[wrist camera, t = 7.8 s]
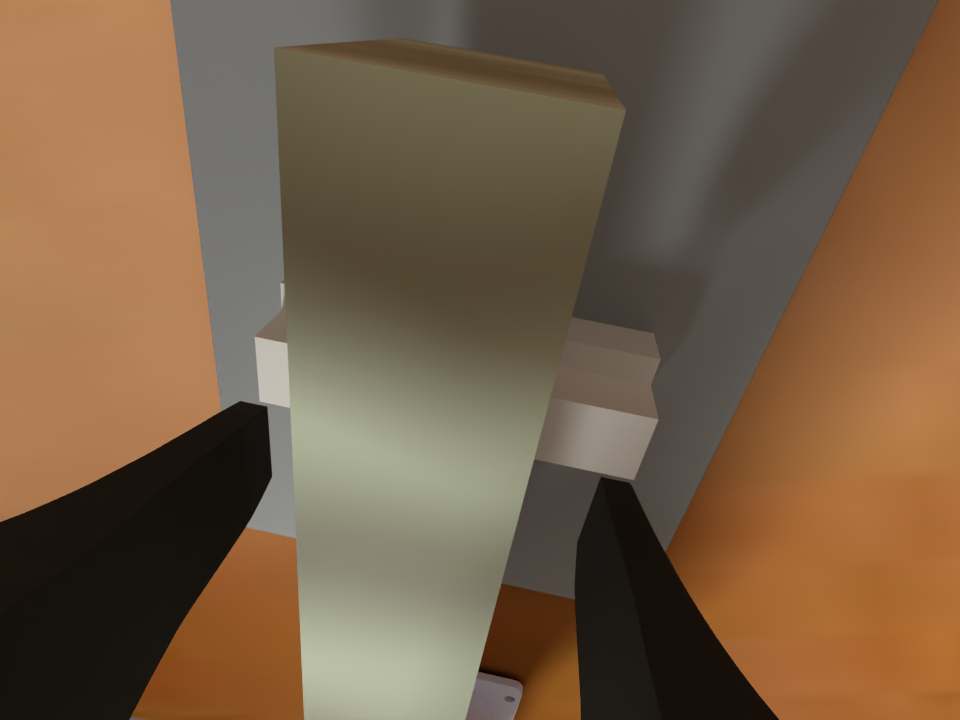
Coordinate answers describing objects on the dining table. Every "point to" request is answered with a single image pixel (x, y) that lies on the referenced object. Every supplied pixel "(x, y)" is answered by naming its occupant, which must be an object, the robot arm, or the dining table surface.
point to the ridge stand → (619, 228)
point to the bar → (422, 343)
